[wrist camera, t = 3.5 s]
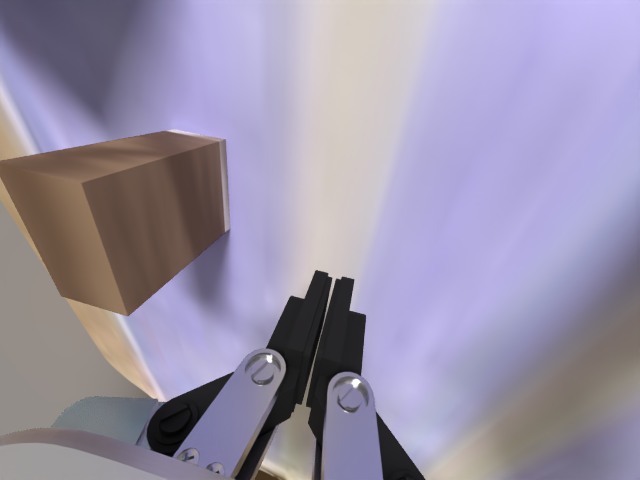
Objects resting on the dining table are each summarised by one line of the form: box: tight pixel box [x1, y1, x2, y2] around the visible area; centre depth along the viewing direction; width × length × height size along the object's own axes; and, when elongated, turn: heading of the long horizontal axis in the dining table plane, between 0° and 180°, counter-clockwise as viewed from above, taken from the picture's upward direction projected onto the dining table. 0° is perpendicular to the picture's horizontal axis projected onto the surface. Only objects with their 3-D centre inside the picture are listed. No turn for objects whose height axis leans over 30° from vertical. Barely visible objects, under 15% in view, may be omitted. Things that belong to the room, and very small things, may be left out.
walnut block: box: [0, 129, 230, 316], centre depth 16 cm, size 4×7×10 cm, turn 172°
